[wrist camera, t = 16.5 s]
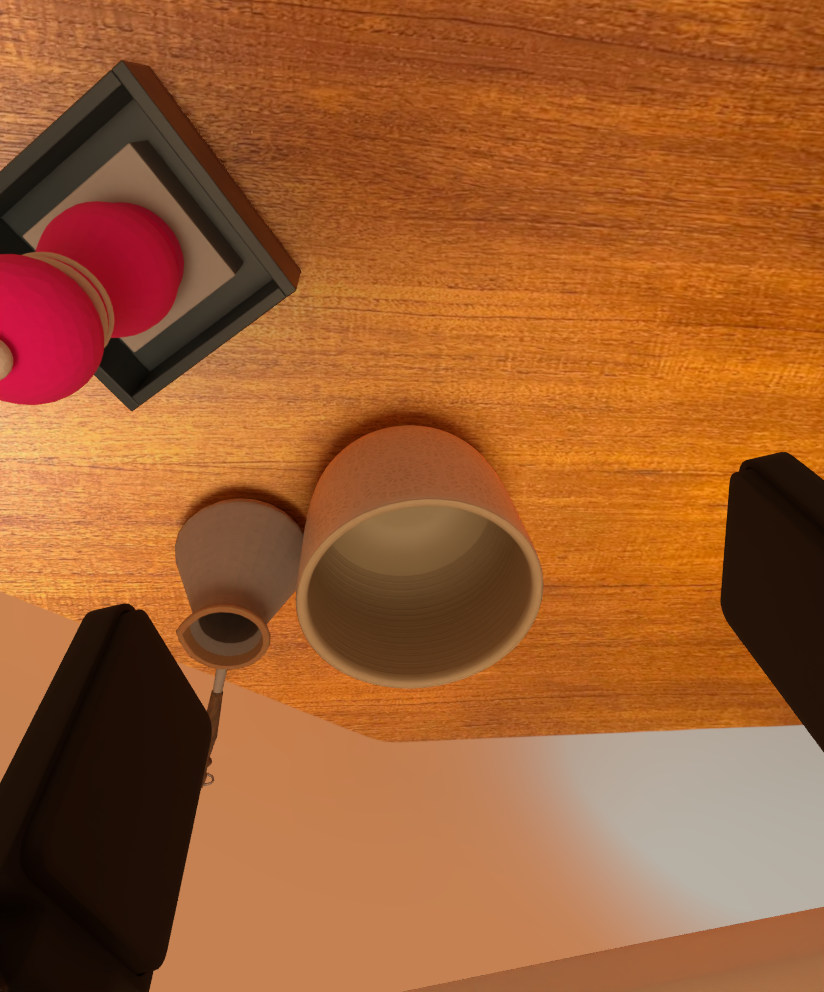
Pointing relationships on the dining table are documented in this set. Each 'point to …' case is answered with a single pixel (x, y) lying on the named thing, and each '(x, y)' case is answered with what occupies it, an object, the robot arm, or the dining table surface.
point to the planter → (414, 562)
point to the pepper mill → (82, 296)
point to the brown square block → (159, 190)
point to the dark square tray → (158, 119)
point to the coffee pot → (234, 586)
